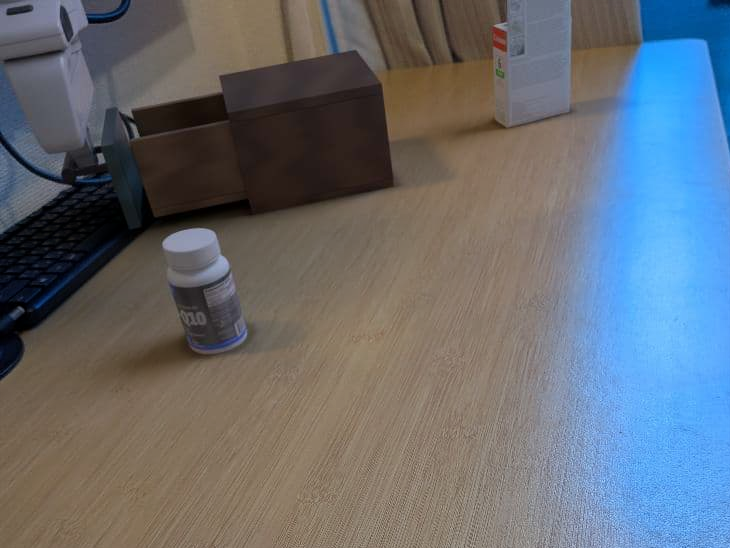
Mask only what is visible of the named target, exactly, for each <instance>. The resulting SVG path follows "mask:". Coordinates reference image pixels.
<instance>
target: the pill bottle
mask: <svg viewBox="0 0 730 548" xmlns="http://www.w3.org/2000/svg"><path fill="white" fill-rule="evenodd" d="M161 248H162V251H163V254H164V259H165V261H166V263H167V265H168V268H167V270H166V279H167V283H168V286H169V288H170V292H171V294H172V296H173V301H174V303H175V307H176V310H177V312H178V315H179V319H180V322H181V325H182V328H183V331H184V334H185V337H186V341H187V343H188V345H189V347H190V348H191V349H192V351H194V352H196V353H198V354H200V355H201V354H202V355H217V354H222V353H226V352H228V351H230V350H233V349H235V348H237V347H239V346H240V345H241V344H243V343H244V342H245V341H246V339H247V336H248V330H247V326H246V322H245V318H244V314H243V311H242V306H241V301H240V299H239V296H238V293H237V288H236V285H235V280H234V277H233V273H232V269H231V266H230V263H229V261H228V259H227V258H226V257H225V256H223V255H222V252H221V248H220V243H219V241H218V236H217V234H216V232H215V231H213V230H211V229H208V228H204V227H203V228H202V227H201V228H200V227H196V228H188V229H183V230H180V231H177V232H174V233H172V234H170V235H169V236H167V237H166V238H165V239H164V240H163V241H162V244H161Z"/></svg>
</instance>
